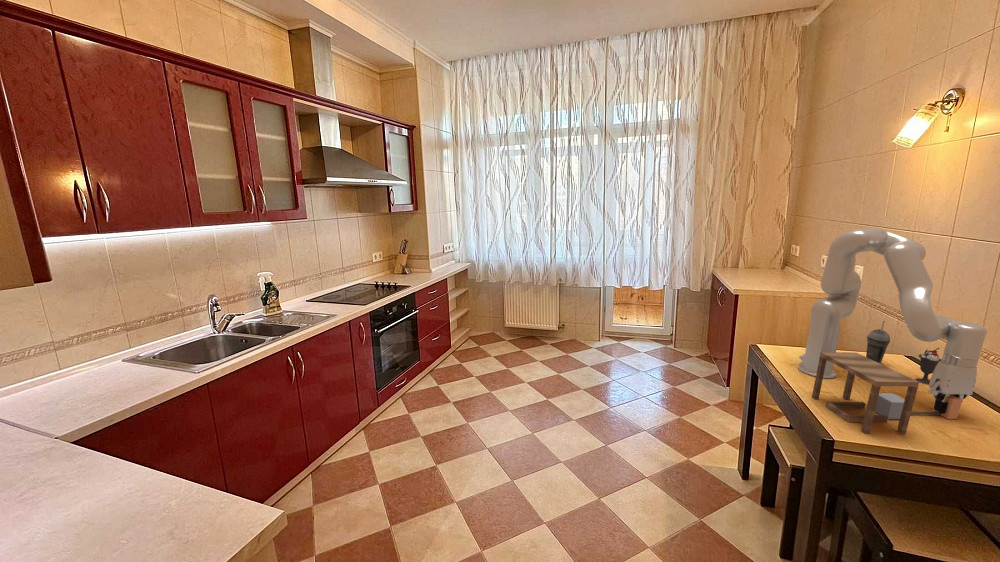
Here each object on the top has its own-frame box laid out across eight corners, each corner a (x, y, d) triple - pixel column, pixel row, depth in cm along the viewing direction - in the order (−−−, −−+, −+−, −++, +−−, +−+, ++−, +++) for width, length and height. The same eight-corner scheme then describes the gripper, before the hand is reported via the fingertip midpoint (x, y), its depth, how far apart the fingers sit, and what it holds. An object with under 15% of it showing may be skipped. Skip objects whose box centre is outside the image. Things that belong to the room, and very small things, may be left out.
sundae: (933, 387, 152) (943, 350, 149) (909, 380, 158) (918, 344, 155) (940, 383, 155) (949, 347, 152) (916, 376, 161) (925, 341, 158)
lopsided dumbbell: (871, 409, 137) (875, 390, 135) (939, 409, 137) (944, 391, 135) (887, 419, 131) (892, 399, 129) (958, 419, 131) (964, 400, 129)
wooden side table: (811, 397, 145) (820, 352, 141) (846, 397, 145) (856, 352, 141) (864, 433, 123) (876, 381, 120) (905, 434, 123) (919, 382, 119)
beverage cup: (880, 362, 174) (890, 318, 170) (887, 369, 168) (898, 323, 163) (858, 359, 177) (868, 316, 173) (865, 365, 171) (875, 321, 166)
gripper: (972, 355, 133) (957, 405, 137) (922, 355, 133) (909, 405, 137) (999, 365, 125) (983, 418, 130) (946, 365, 126) (931, 417, 130)
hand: (945, 411), depth 133 cm, fingers closed on lopsided dumbbell, 3 cm apart
